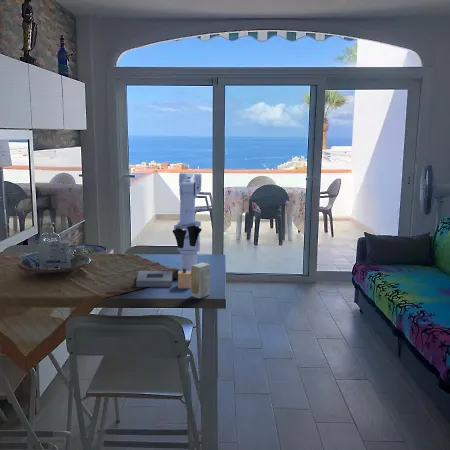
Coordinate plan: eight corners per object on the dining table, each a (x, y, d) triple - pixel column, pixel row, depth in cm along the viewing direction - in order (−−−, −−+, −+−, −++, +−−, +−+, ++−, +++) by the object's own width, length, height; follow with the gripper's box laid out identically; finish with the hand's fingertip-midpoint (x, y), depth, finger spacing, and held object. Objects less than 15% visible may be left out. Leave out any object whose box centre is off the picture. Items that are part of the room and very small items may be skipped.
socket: (139, 276, 205) (139, 270, 204) (172, 276, 206) (172, 270, 206) (136, 286, 191) (136, 280, 191) (171, 286, 192) (171, 280, 192)
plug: (178, 285, 195) (178, 267, 193) (190, 285, 195) (190, 267, 194) (178, 288, 191) (178, 269, 189) (190, 288, 191) (190, 269, 190)
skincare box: (201, 292, 186) (202, 261, 184) (210, 294, 184) (211, 263, 182) (190, 296, 182) (190, 264, 179) (198, 299, 179) (199, 267, 177)
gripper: (168, 213, 190) (166, 247, 188) (190, 208, 179) (189, 244, 177) (182, 215, 195) (181, 249, 192) (205, 210, 184) (204, 246, 182)
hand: (186, 247), depth 185 cm, fingers open, 7 cm apart
